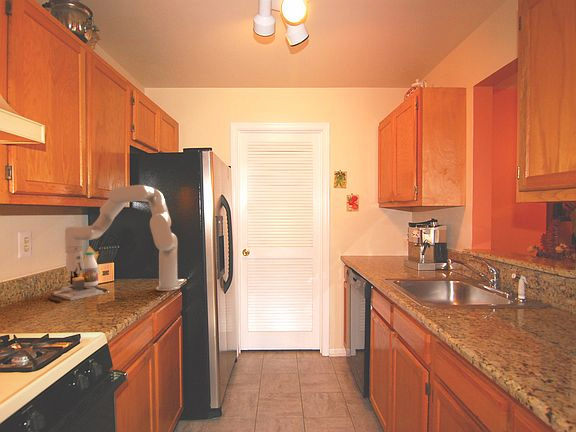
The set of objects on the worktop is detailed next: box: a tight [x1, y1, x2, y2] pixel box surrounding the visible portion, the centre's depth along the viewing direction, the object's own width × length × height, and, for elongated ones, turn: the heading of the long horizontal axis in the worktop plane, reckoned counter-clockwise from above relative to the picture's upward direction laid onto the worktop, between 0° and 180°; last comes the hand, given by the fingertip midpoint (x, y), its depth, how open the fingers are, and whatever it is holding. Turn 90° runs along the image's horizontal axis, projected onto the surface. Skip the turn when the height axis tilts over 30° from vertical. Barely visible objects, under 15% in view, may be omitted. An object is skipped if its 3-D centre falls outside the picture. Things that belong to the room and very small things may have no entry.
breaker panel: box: [53, 285, 104, 301], centre depth 165 cm, size 15×20×4 cm
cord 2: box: [93, 285, 108, 293], centre depth 173 cm, size 13×3×1 cm, turn 57°
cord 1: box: [48, 296, 63, 304], centre depth 152 cm, size 13×1×1 cm, turn 57°
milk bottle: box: [81, 251, 99, 287], centre depth 184 cm, size 8×8×20 cm
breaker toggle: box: [71, 276, 84, 290], centre depth 165 cm, size 4×4×7 cm
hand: (74, 283), depth 167 cm, fingers closed
